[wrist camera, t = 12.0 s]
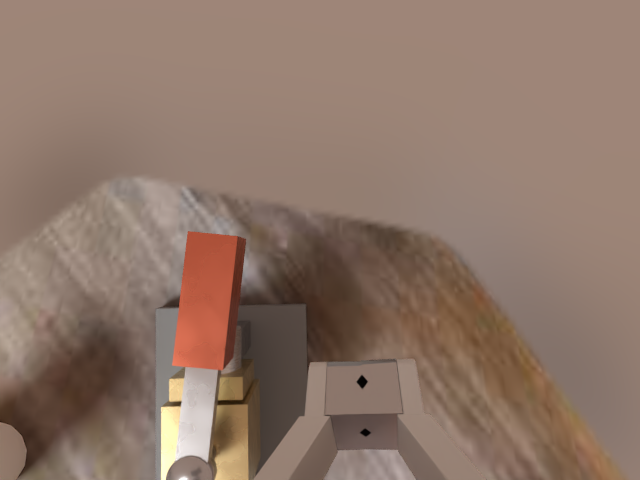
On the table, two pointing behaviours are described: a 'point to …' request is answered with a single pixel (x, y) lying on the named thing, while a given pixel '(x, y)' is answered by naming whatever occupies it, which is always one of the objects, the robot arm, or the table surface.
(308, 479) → the robot arm
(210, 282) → the valve lever
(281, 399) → the slate plate
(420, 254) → the table surface
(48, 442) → the table surface
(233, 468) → the pipe and valve
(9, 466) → the foam cup
